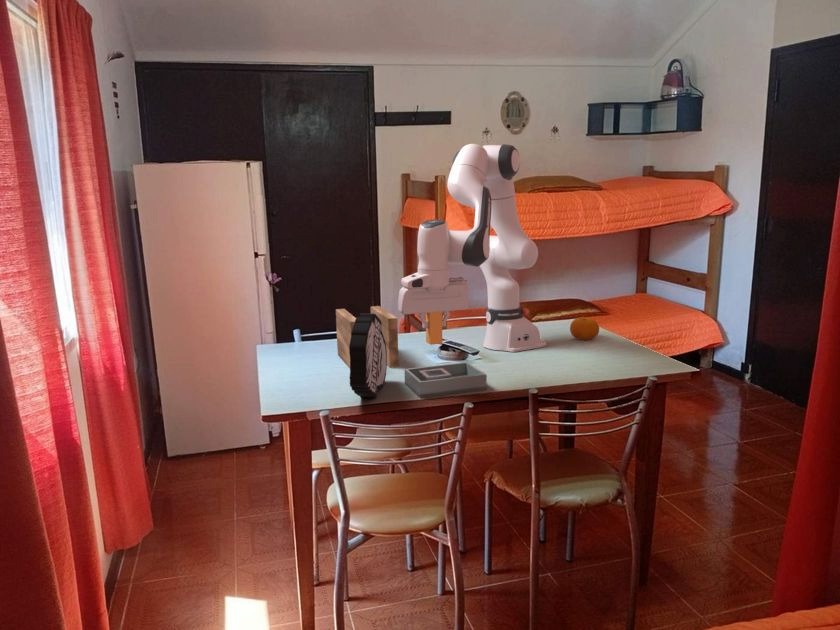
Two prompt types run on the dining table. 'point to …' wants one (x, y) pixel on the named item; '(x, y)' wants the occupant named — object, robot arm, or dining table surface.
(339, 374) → the dining table surface
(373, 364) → the wall sign
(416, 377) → the bin
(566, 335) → the dining table surface
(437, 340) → the orange rectangular block
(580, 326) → the fruit
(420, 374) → the socket
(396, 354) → the bookends
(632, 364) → the dining table surface
